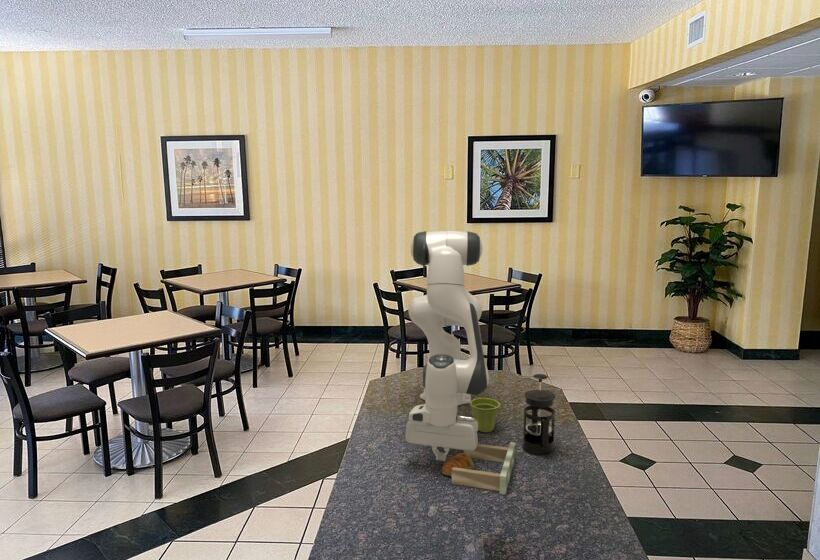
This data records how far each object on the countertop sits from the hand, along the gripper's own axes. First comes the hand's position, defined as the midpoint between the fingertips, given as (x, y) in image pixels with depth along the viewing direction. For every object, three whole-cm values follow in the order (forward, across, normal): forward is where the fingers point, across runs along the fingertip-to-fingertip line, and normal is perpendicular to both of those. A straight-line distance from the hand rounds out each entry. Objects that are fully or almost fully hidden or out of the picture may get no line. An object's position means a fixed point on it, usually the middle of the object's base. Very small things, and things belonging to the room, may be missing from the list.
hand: (441, 460), depth 167 cm
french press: (+2, -25, -18) cm, 31 cm away
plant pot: (+2, -7, -28) cm, 29 cm away
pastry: (+2, -5, +1) cm, 5 cm away
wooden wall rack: (+2, -11, 0) cm, 12 cm away
